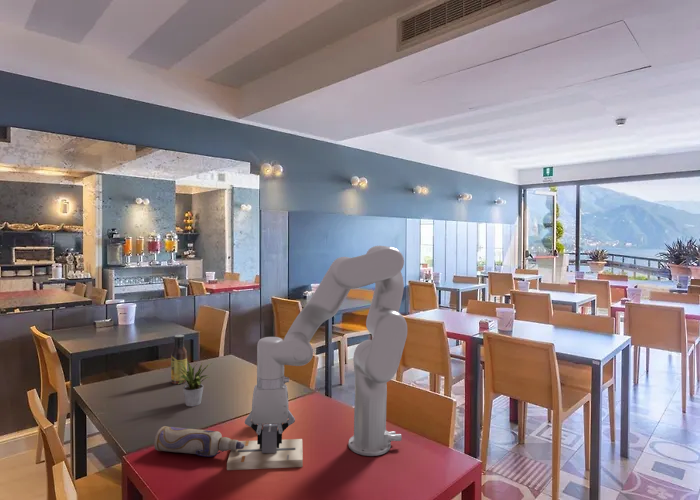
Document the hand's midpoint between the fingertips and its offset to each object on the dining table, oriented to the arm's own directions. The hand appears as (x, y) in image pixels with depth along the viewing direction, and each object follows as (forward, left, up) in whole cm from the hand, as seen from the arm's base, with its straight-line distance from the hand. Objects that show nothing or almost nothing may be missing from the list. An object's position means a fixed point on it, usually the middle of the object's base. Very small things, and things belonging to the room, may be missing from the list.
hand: (269, 445), depth 123 cm
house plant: (+32, -41, -3) cm, 52 cm away
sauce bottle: (+42, -65, -3) cm, 77 cm away
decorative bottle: (+20, -2, -3) cm, 21 cm away
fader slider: (0, 0, -1) cm, 1 cm away
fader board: (+1, 0, -3) cm, 3 cm away
